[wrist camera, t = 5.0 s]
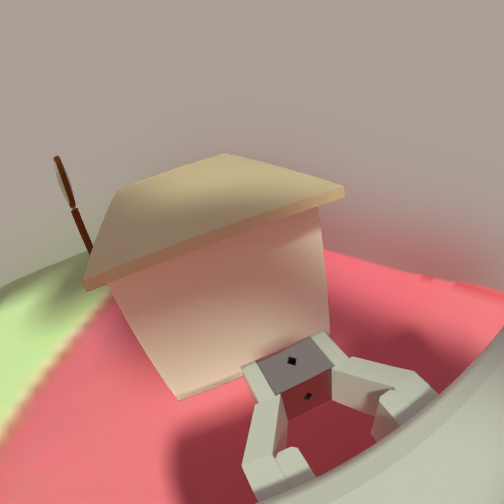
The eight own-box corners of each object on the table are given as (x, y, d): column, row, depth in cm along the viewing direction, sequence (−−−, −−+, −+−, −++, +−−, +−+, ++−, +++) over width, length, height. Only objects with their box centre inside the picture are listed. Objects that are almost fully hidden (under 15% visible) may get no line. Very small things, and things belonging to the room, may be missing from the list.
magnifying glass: (91, 264, 47) (50, 160, 37) (99, 260, 48) (59, 155, 38) (100, 280, 40) (51, 156, 31) (109, 274, 41) (61, 151, 32)
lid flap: (87, 291, 12) (81, 280, 11) (118, 194, 31) (116, 190, 31) (345, 197, 15) (343, 186, 14) (226, 157, 34) (225, 153, 34)
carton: (178, 400, 20) (98, 268, 14) (154, 280, 37) (120, 194, 31) (330, 335, 22) (315, 190, 17) (246, 246, 40) (224, 159, 34)
